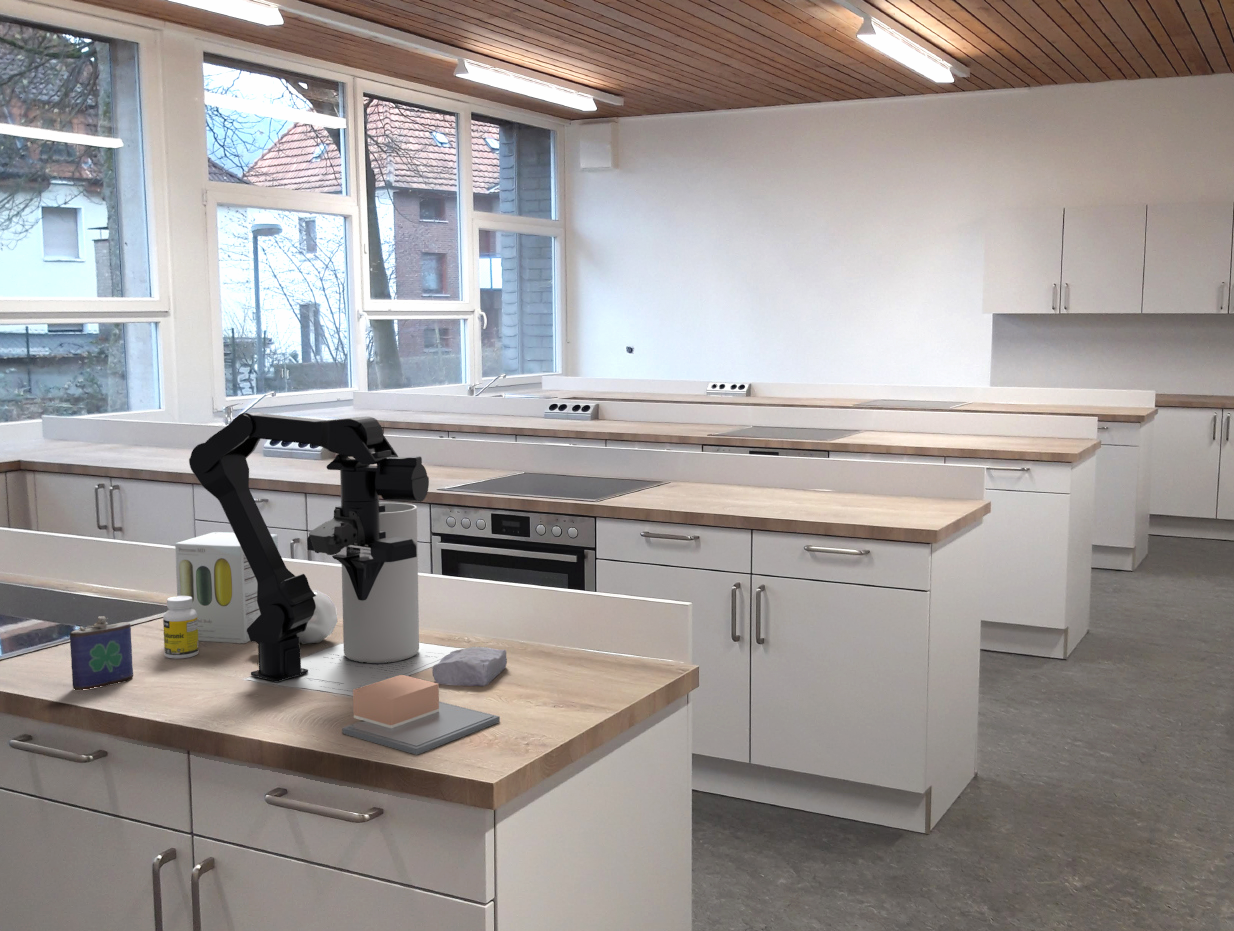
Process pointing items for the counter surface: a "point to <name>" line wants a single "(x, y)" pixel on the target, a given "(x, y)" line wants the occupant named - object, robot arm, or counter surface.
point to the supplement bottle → (180, 628)
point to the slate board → (425, 729)
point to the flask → (101, 654)
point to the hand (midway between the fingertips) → (362, 600)
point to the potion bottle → (320, 620)
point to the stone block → (470, 666)
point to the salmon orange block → (395, 701)
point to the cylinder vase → (385, 600)
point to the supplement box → (218, 585)
